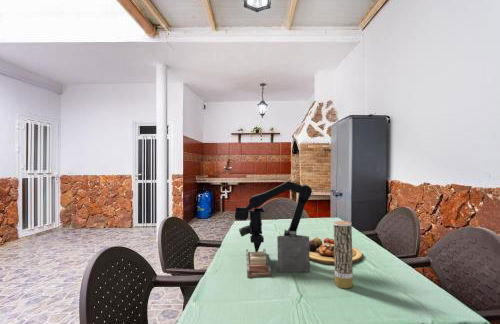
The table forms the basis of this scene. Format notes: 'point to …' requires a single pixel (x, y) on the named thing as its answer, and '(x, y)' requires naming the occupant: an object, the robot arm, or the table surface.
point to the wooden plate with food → (328, 251)
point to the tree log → (343, 254)
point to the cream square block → (257, 259)
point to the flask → (293, 253)
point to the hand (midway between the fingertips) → (256, 251)
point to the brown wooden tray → (258, 267)
